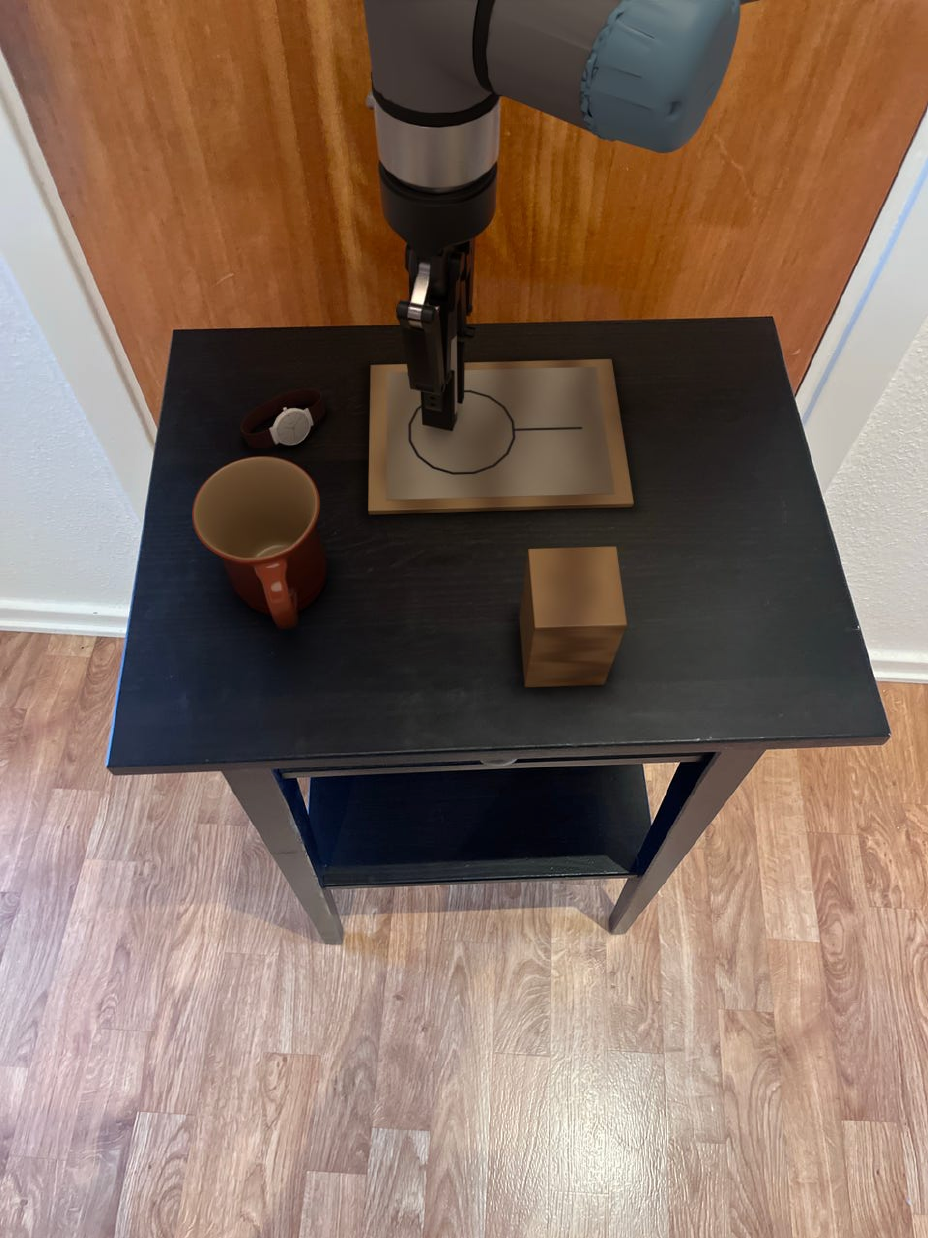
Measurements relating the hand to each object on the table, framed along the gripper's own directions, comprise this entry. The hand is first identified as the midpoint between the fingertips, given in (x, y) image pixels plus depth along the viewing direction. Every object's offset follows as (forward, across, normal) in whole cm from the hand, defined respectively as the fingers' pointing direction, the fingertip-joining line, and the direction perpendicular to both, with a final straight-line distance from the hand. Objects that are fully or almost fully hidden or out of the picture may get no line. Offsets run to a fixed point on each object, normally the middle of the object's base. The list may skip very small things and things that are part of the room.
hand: (443, 410), depth 74 cm
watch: (+2, +4, -13) cm, 14 cm away
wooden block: (+2, +19, +15) cm, 24 cm away
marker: (+1, 0, 0) cm, 1 cm away
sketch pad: (+2, 0, +5) cm, 5 cm away
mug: (+2, +20, -7) cm, 21 cm away
